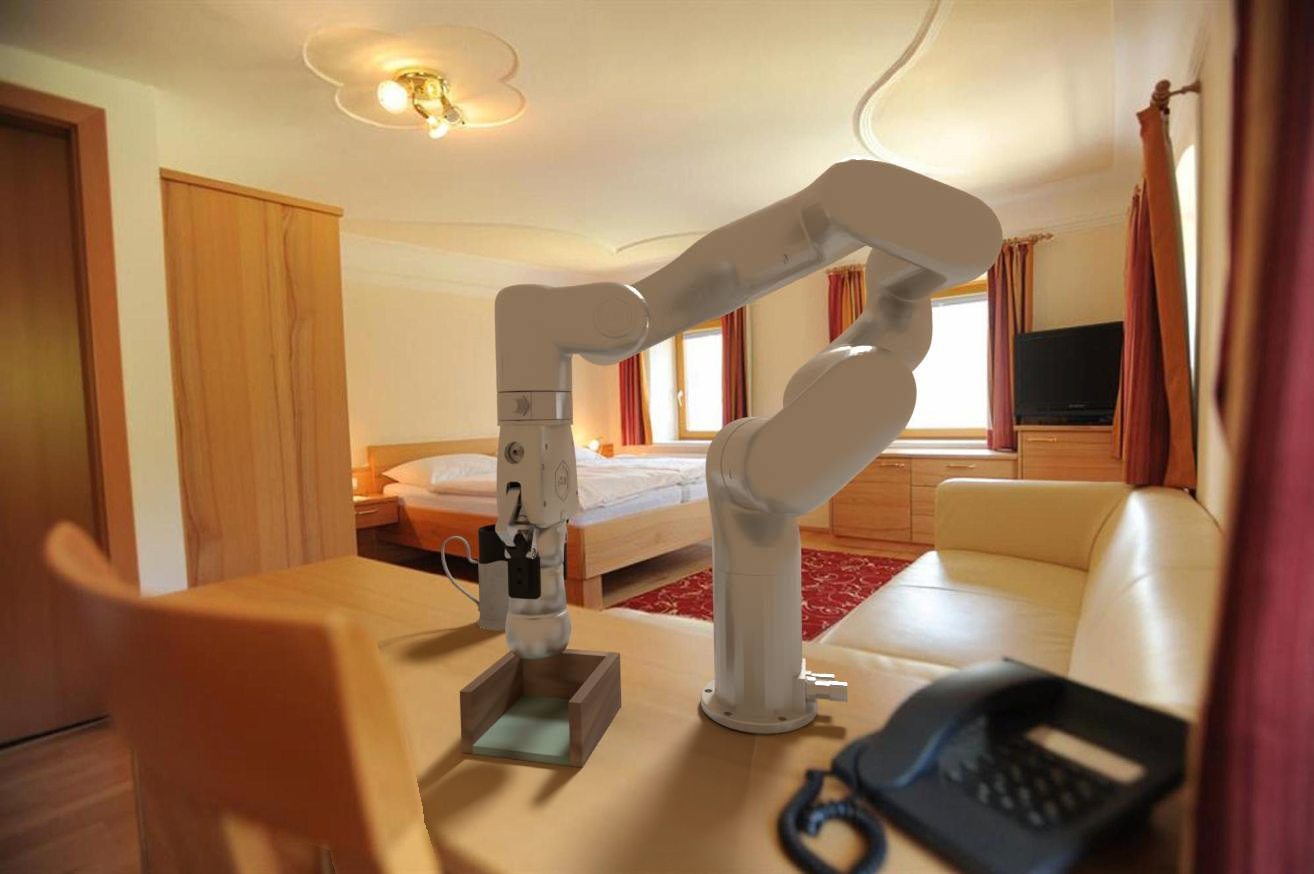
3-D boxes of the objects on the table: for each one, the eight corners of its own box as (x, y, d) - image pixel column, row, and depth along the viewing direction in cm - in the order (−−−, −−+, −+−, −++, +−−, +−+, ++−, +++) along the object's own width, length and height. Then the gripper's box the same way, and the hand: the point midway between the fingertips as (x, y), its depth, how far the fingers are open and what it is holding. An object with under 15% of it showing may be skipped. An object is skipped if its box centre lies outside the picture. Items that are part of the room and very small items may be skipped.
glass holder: (527, 630, 92) (524, 532, 92) (433, 632, 92) (430, 534, 92) (538, 611, 101) (536, 521, 101) (453, 613, 101) (450, 523, 101)
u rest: (621, 706, 67) (620, 652, 67) (582, 767, 56) (580, 703, 56) (518, 696, 70) (517, 644, 70) (461, 752, 59) (459, 691, 59)
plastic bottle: (558, 669, 58) (554, 462, 58) (493, 665, 60) (488, 462, 59) (580, 645, 65) (577, 457, 64) (521, 641, 66) (517, 457, 66)
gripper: (532, 410, 52) (537, 618, 53) (598, 411, 69) (601, 569, 69) (454, 411, 54) (459, 613, 55) (537, 412, 71) (541, 566, 71)
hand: (539, 586), depth 62 cm, fingers closed on plastic bottle, 5 cm apart
